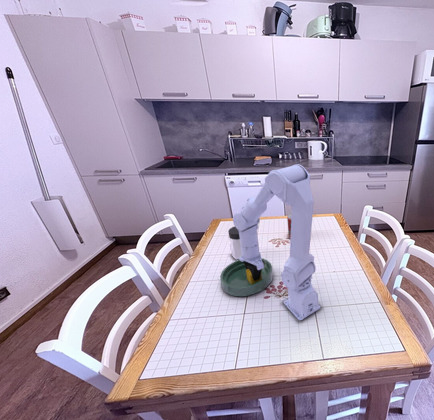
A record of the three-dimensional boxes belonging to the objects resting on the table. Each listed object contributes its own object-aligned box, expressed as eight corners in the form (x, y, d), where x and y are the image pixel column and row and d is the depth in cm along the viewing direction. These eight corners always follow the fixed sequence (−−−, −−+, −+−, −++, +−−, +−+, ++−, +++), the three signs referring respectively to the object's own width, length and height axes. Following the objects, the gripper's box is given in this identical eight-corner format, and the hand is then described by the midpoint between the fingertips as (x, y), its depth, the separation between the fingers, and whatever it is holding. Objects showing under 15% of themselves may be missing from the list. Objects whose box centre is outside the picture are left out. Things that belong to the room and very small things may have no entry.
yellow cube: (262, 279, 85) (261, 270, 84) (251, 284, 83) (250, 275, 81) (257, 274, 88) (256, 265, 87) (247, 278, 86) (245, 269, 84)
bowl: (281, 282, 85) (280, 273, 84) (232, 305, 75) (231, 296, 73) (260, 260, 97) (259, 252, 96) (215, 278, 87) (213, 269, 85)
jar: (255, 255, 101) (252, 230, 96) (236, 262, 96) (232, 236, 92) (247, 246, 107) (244, 223, 103) (229, 252, 102) (225, 228, 98)
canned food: (285, 238, 115) (284, 217, 110) (292, 230, 122) (291, 211, 117) (300, 240, 112) (299, 219, 108) (306, 232, 120) (306, 213, 115)
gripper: (230, 239, 83) (235, 271, 88) (247, 257, 72) (252, 292, 78) (249, 233, 87) (253, 263, 92) (267, 249, 77) (271, 283, 82)
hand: (254, 276), depth 85 cm, fingers closed on yellow cube, 4 cm apart
